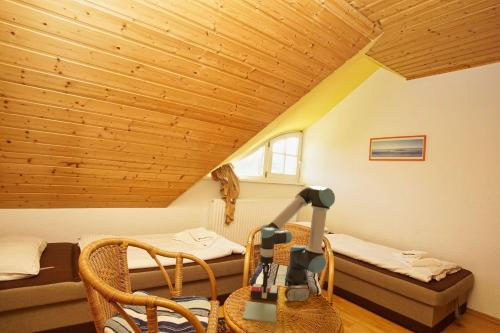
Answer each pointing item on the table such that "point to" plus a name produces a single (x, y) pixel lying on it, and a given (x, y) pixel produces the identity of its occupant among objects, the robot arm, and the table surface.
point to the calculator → (271, 291)
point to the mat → (260, 312)
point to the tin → (297, 293)
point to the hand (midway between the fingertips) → (264, 293)
